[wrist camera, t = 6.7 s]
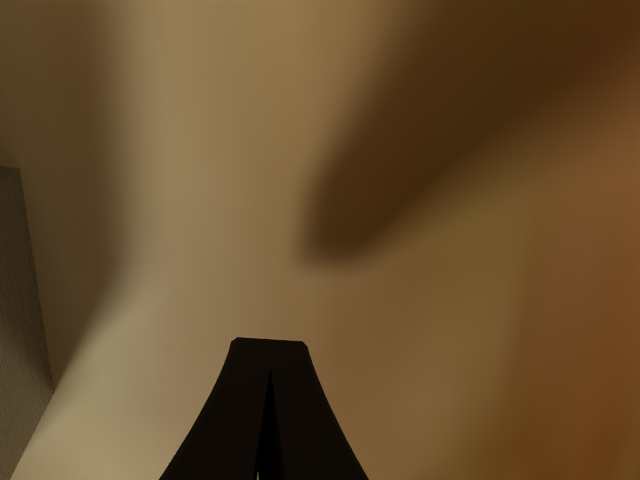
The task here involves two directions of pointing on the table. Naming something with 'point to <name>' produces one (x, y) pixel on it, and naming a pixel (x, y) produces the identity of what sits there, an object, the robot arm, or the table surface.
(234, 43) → the table surface
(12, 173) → the steel key pin
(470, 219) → the table surface
